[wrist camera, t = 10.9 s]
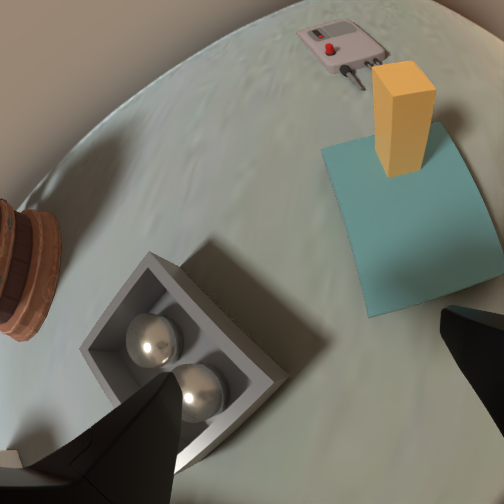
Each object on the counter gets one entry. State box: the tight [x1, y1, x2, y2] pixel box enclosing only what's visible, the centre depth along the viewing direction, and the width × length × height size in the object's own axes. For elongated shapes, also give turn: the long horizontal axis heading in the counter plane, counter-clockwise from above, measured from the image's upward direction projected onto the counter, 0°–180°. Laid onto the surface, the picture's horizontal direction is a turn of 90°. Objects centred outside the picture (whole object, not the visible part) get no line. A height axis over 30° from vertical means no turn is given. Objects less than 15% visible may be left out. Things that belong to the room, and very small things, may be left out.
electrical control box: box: [296, 19, 385, 90], centre depth 25 cm, size 7×16×3 cm, turn 15°
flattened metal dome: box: [171, 363, 230, 423], centre depth 18 cm, size 4×4×2 cm
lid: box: [321, 60, 504, 318], centre depth 14 cm, size 12×10×10 cm
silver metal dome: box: [126, 312, 184, 368], centre depth 21 cm, size 4×4×2 cm
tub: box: [79, 251, 290, 475], centre depth 19 cm, size 12×10×4 cm
